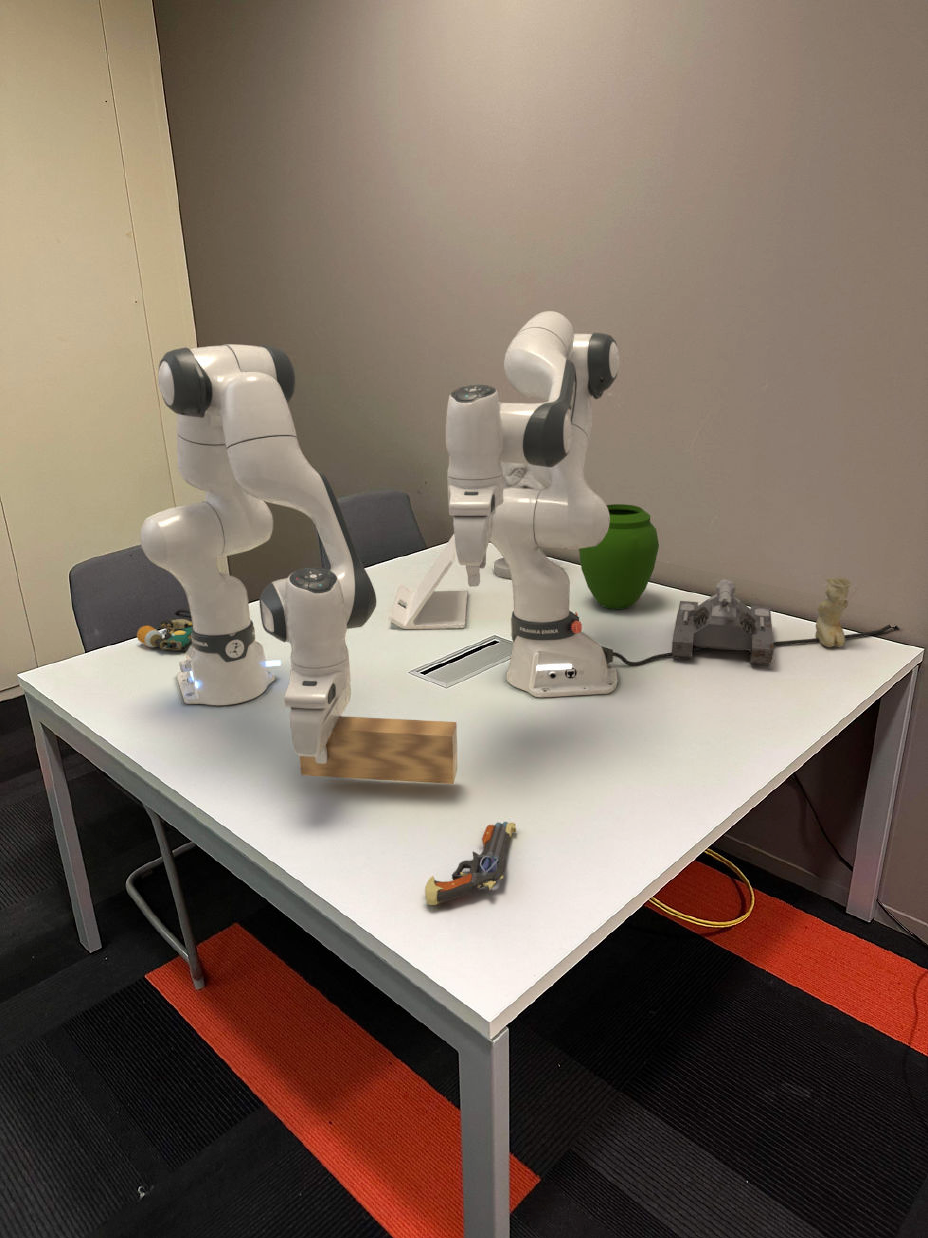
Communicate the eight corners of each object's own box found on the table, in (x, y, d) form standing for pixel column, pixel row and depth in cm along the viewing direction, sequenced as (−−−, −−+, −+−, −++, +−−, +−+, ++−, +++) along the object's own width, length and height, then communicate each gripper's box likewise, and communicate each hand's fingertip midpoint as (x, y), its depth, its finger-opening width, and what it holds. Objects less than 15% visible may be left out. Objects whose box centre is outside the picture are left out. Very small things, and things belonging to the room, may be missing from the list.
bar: (457, 769, 137) (456, 721, 134) (453, 784, 133) (452, 736, 130) (309, 760, 140) (305, 714, 137) (301, 775, 136) (296, 728, 133)
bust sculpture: (503, 593, 225) (502, 460, 212) (483, 567, 247) (480, 445, 234) (562, 587, 228) (563, 456, 215) (536, 562, 250) (536, 441, 237)
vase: (599, 587, 227) (601, 497, 218) (668, 600, 216) (673, 505, 208) (562, 608, 212) (564, 513, 204) (634, 623, 202) (639, 523, 193)
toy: (678, 620, 203) (682, 559, 197) (767, 627, 197) (774, 565, 192) (670, 662, 180) (675, 595, 175) (771, 671, 174) (778, 602, 169)
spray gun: (176, 626, 211) (225, 636, 205) (124, 646, 196) (175, 658, 190) (175, 609, 209) (224, 619, 203) (123, 629, 195) (173, 640, 189)
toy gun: (420, 893, 109) (497, 892, 107) (449, 818, 127) (516, 816, 124) (423, 911, 109) (499, 911, 107) (452, 834, 127) (518, 832, 125)
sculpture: (821, 649, 184) (830, 583, 179) (808, 637, 191) (816, 573, 185) (848, 649, 184) (858, 582, 179) (834, 636, 191) (843, 572, 185)
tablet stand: (467, 593, 225) (465, 531, 219) (465, 628, 202) (462, 559, 196) (399, 594, 226) (395, 532, 220) (388, 629, 203) (384, 560, 197)
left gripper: (320, 645, 141) (326, 719, 146) (280, 702, 122) (288, 785, 127) (357, 647, 140) (362, 721, 145) (322, 704, 121) (329, 787, 127)
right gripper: (463, 479, 145) (465, 557, 150) (446, 507, 126) (450, 595, 131) (500, 479, 144) (501, 557, 149) (489, 507, 125) (490, 596, 130)
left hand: (327, 751), depth 136 cm, fingers closed on bar, 4 cm apart
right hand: (477, 575), depth 140 cm, fingers open, 8 cm apart
